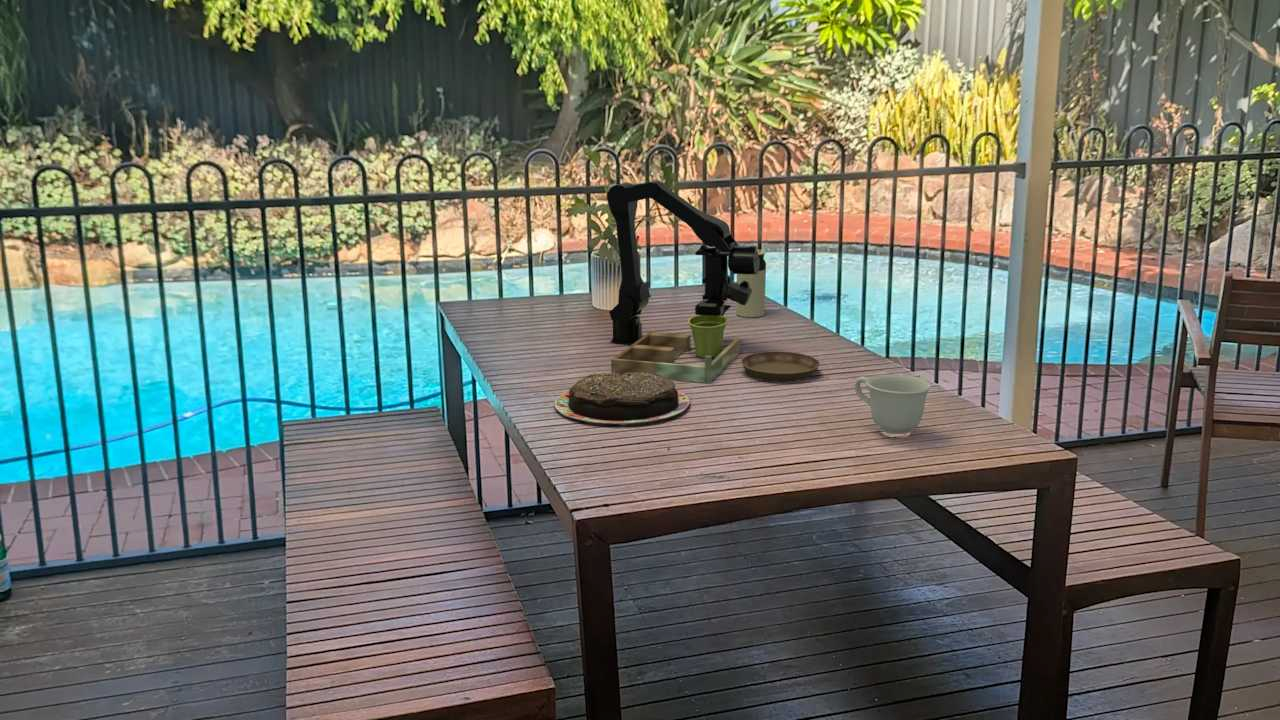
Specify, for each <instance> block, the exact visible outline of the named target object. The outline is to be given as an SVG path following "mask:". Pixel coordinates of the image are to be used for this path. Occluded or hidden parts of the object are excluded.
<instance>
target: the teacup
mask: <svg viewBox="0 0 1280 720" xmlns="http://www.w3.org/2000/svg"><path fill="white" fill-rule="evenodd" d="M861 383H864V384H865V387H866V390H868V391H869V397H870V398H869V397H868V396H867V395H865V394H864V393H863V391H862V388H861ZM932 388H933V386H932V383H931V382H929V381H928V380H926V379H924V378H921V377H919V376H913V375H907V374H891V373H889V374H879V375H873V376H871V377H869V378H868V377H867V376H860V377H858V378H857V379H856V381H855V383H854V391H855V394H856V395H857V397H858V398H859V399H860V400H862V401H863V402H865V403H866V404H868V406H869V407H870V411H871V417H872V420H873V422H874V423H875V424H876V425H877V426H878V427H879V428H880V430H882V431H883V432H886V433H889V434H906V433H909V432H910V431H911V430H913V429H915V428H917V427H918V426H919V425H920V423H921V421H922V417H923V414H924V409H925V403H926V400H927V399H926V398H927V395H928V392H929V391H930V390H931V389H932ZM911 432H912V431H911Z"/></svg>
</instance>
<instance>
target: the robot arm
mask: <svg viewBox="0 0 1280 720" xmlns="http://www.w3.org/2000/svg"><path fill="white" fill-rule="evenodd" d="M645 199H651V200H653V201H655V202H656V203H658V205H660V206H662V207H663V208H664V209H665V210H666V211H668V212H670V213H671V214H673V215H674V216H675V217H676V218H678V219H679V220H681V221H682V222H684V223H685V224H686V225H688V226H689V227H690V228H691V230H692V231H693V233H694V234H695V236H696V237H697V238H698V239H699V240H700V241H701V242H702V243H703V244H702V245H700V247H699V249H698V250H697V251H695V252H694V253H695V254H694V255H696V256H703V277H702V284H704V294H703V295H702V300H701V301H700V302H698V303H697V304H696V305H695V307H694V312H695V313H694V314H695V316H697V315H712V316H719V315H721V316H724V317H725V313H726V312H727V311H728V310H729V309H730V308H731V307H732V305H728V304H726V301H728V299H729V300H731V301H732V302H738V303H739V304H741V305H746V303H748V301H749V298H750V295H751V294H752V289H751V288H750V285H749V282H747V281H743V282H741V283H740V284H738V283H737V282H736V283H735V282H732V277H731V275H729V273H728V272H729V271H730V272H731V273H732V274H733V275H737V274H752V275H757V274H758V271H759V265H760V258H759V255H758V252H757V250H758V246H757V245H749V246H745V245H744V246H743V245H742V246H741V245H740V246H739V244H738V243H737V241H736V239H735V238H734V237H733V235H732V234H731V229H730V226H729V224H728V223H727V222H726V221H724V220H722V219H720V218H718V217H716V216H713V215H711V214H708V213H705V212H704V211H701V210H700V209H698V208H696V207H695V206H694V205H692V204H691V203H690V202H688V201H687V200H685V199H684V198H683V197H681V196H680V195H679V194H678V193H675V191H673V190H671V189H670V188H669V187H668V186H666V185H665V183H663V182H662V181H660V180H658V179H656V180H652V181H648V182H645V183H639V184H633V183H630V182H623V183H619V184H616V185H612V186H611V187H610V188H609V190H608V191H607V192H606V200H607V205H608V207H609V210H610V213H611V215H612V217H613V219H614V221H615V224H616V225H615V226H616V233H617V243H618V253H619V254H618V255H619V262H620V272H621V281H620V285H619V289H618V299H617V300H618V302H617V304H616V305H615V306H614V307H613V308H612V309H611V310H610V311H609V316H610V318H611V320H612V339H611V340H610V343H612V344H623V345H632V344H634V343H635V342H636V341H638V340H639V339H641V338H642V337H643V333H642V332H643V329H642V328H643V324H642V322H641V317H640V315H642V314H641V313H642V311H643V309H645V308H646V307H647V306H648V303H649V299H651V298H652V295H651V293H650V291H649V290H650V282H649V281H644V280H643V279H642V276H641V270H640V264H639V252H638V245H637V244H638V242H637V232H636V222H635V217H636V214H637V213H636V212H637V209H638V201H642V200H645Z"/></svg>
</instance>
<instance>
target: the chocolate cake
mask: <svg viewBox="0 0 1280 720" xmlns="http://www.w3.org/2000/svg"><path fill="white" fill-rule="evenodd" d="M690 403H691V400H690V397H688V395H686V394H685V393H684V392H681V391H679V390H677V389H676V384H675V382H674V381H673V380H668V379H666V378H665V377H663V376H660V375H659V374H657V373H654V372H652V373H642V372H641V373H636V372H631V373H624V374H623V373H621V374H616V373H615V372H613V373H608V372H607V373H593V374H589V375H586V376H585V377H583V378H582V379H579V380H578V381H576V382H575V383H574V384H573V385H572V386H571V388H570V389H569V390H568V391H566V392H563V393H561V394H560V395H558V396H557V398H555V400H554V403H553V404H554V405H553V406H554V408H555V409H556V411H558V412H559V413H560V414H561V415H562V416H563V417H565V418H566V419H568V420H575V421H580V422H584V423H587V424H588V425H590V426H607V425H609V426H610V425H611V426H617V425H618V426H622V427H626V428H627V427H628V428H629V427H639V426H645V425H654V424H659V423H664V422H668V421H670V420H671V418H673V417H678V416H679V417H680V416H682V415H683V413H685V411H686V410H687V409H689V407H690Z"/></svg>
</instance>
